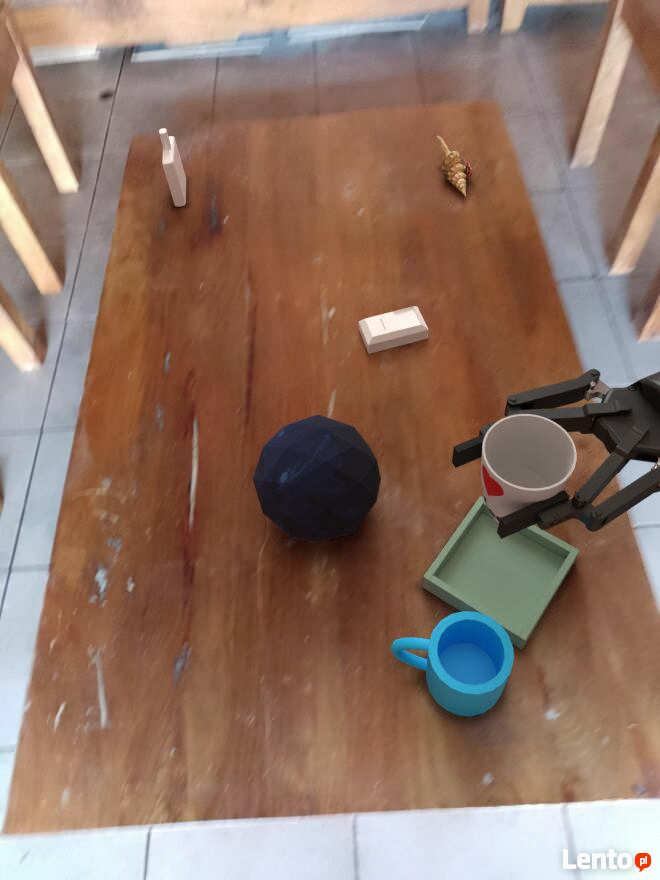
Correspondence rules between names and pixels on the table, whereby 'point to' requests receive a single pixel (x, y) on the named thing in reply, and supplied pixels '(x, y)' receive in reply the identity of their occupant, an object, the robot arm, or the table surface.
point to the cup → (524, 462)
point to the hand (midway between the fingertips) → (477, 491)
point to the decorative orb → (317, 479)
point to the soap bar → (393, 329)
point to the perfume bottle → (173, 168)
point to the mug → (462, 661)
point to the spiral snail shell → (455, 167)
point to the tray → (500, 572)
